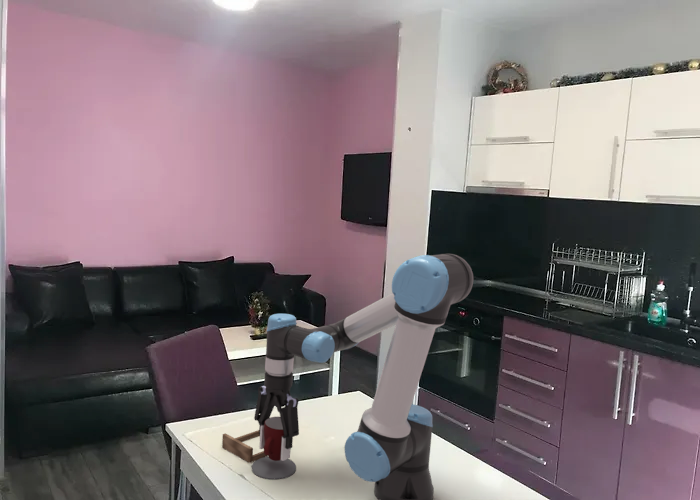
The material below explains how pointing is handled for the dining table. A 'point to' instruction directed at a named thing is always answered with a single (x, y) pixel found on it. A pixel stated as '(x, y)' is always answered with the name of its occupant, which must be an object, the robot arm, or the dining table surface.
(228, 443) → the wooden tray frame
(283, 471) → the coaster
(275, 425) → the mug
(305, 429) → the dining table surface
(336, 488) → the dining table surface
